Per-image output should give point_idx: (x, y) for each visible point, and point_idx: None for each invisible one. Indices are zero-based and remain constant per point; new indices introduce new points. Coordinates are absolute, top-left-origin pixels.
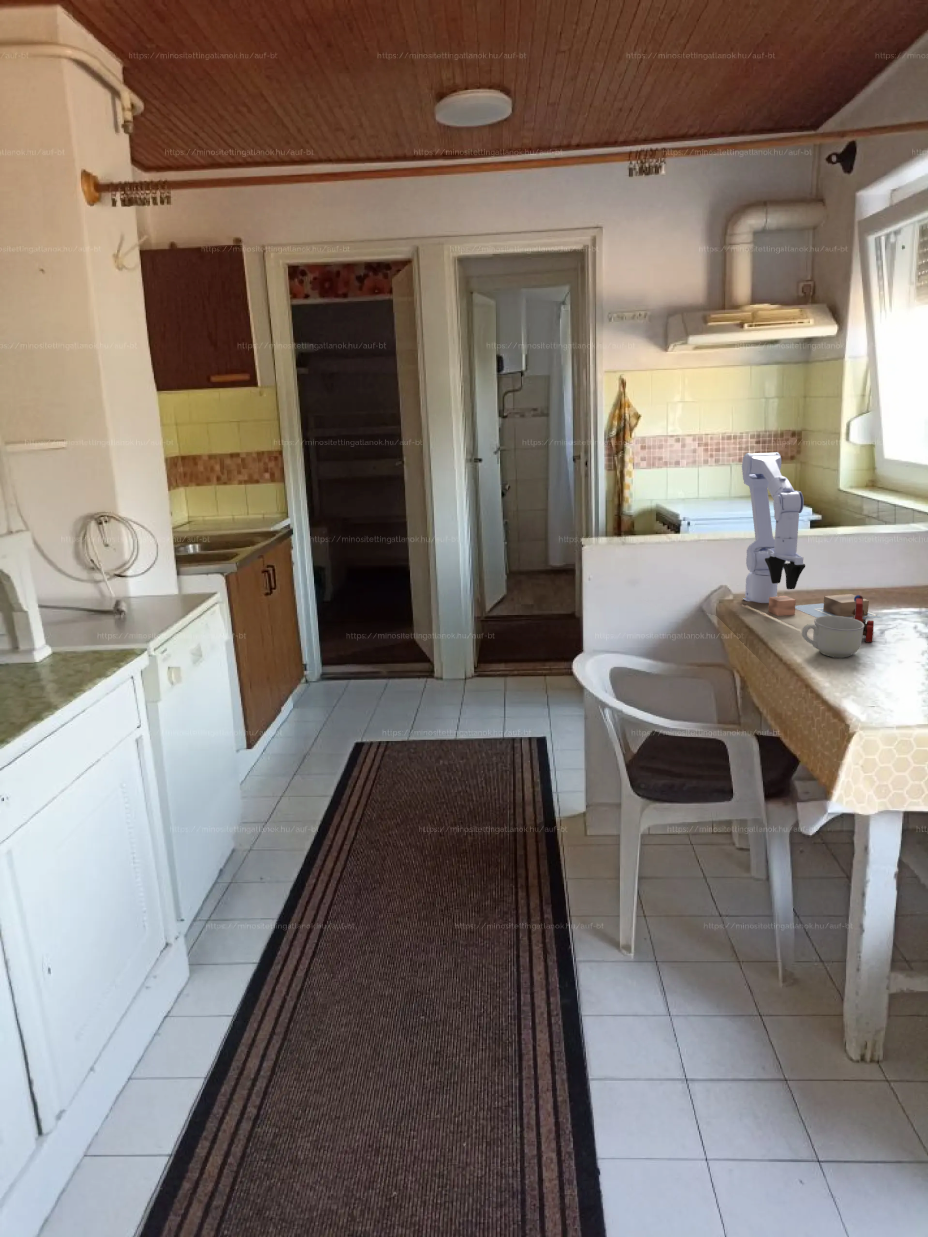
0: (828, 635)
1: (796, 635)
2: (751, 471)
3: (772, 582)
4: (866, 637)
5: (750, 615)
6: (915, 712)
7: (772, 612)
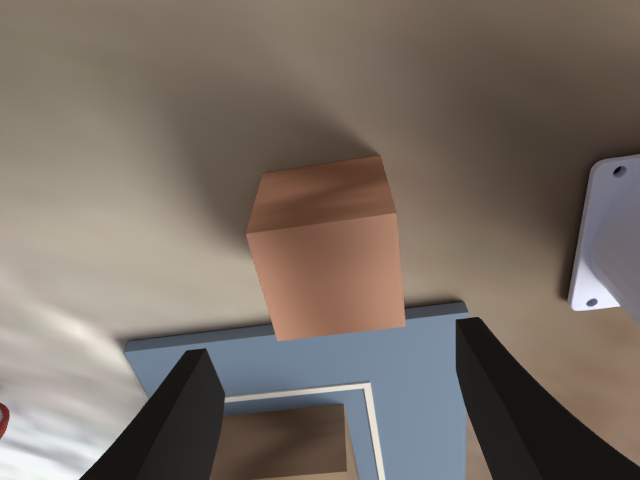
0: None
1: None
2: None
3: (466, 323)
4: None
5: (374, 16)
6: None
7: (328, 173)
